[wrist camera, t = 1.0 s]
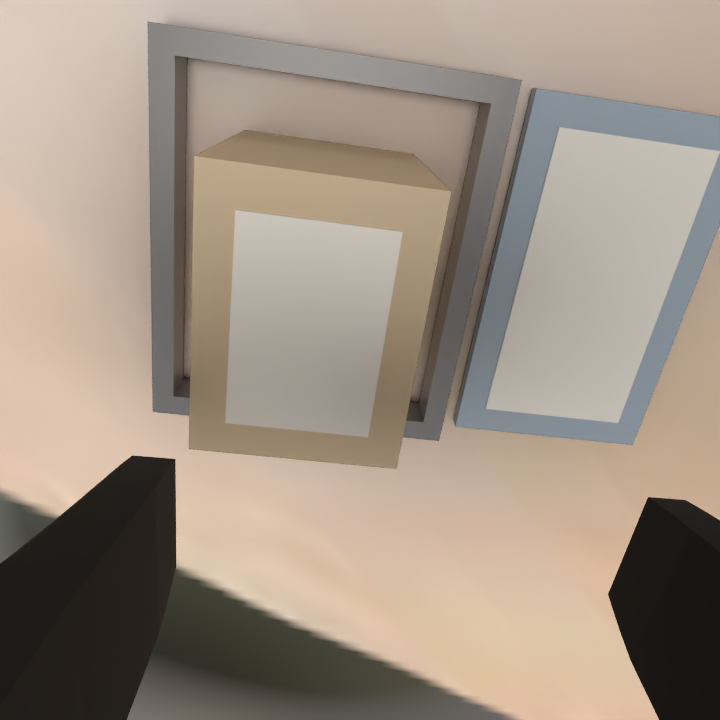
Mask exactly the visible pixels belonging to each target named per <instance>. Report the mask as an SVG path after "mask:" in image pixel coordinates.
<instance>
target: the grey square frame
mask: <svg viewBox="0 0 720 720" xmlns="http://www.w3.org/2000/svg"><path fill="white" fill-rule="evenodd" d="M187 58H194V59H201V60H207V61H214V62H220V63H227V64H233V65H240V66H247V67H253V68H260V69H266V70H273V71H279V72H286V73H293V74H299V75H306V76H312V77H319V78H325V79H332V80H339V81H345V82H352V83H358V84H365V85H371V86H378V87H385V88H391V89H398V90H404V91H411V92H417V93H424V94H431V95H437V96H444V97H450V98H457V99H463V100H470V101H477V102H481V103H480V108H479V113H478V117H477V122H476V127H475V132H474V137H473V142H472V147H471V152H470V156H469V161H468V166H467V171H466V176H465V181H464V186H463V190H462V195H461V200H460V205H459V210H458V215H457V220H456V224H455V229H454V234H453V239H452V244H451V249H450V254H449V259H448V263H447V268H446V273H445V278H444V283H443V288H442V293H441V297H440V302H439V307H438V312H437V317H436V322H435V327H434V331H433V336H432V341H431V346H430V351H429V356H428V361H427V366H426V370H425V375H424V380H423V385H422V390H421V395H420V400H419V403H414V402H410V403H409V408H408V413H407V418H406V423H405V428H404V433H403V437H405V438H415V439H425V440H435V441H439V439H440V434H441V430H442V425H443V421H444V417H445V412H446V408H447V404H448V399H449V395H450V391H451V386H452V382H453V377H454V373H455V369H456V364H457V360H458V356H459V351H460V347H461V343H462V338H463V334H464V329H465V325H466V321H467V316H468V312H469V308H470V303H471V299H472V295H473V290H474V286H475V282H476V277H477V273H478V268H479V264H480V260H481V255H482V251H483V247H484V242H485V238H486V234H487V229H488V225H489V220H490V216H491V212H492V207H493V203H494V199H495V194H496V190H497V186H498V181H499V177H500V172H501V168H502V164H503V159H504V155H505V151H506V146H507V142H508V138H509V133H510V129H511V125H512V120H513V116H514V111H515V107H516V103H517V98H518V94H519V90H520V85H521V81H522V80H518V79H511V78H505V77H499V76H492V75H486V74H479V73H473V72H467V71H460V70H454V69H447V68H441V67H435V66H428V65H422V64H415V63H409V62H403V61H396V60H390V59H383V58H377V57H371V56H364V55H358V54H351V53H345V52H339V51H332V50H326V49H319V48H313V47H307V46H300V45H294V44H287V43H281V42H275V41H268V40H262V39H256V38H249V37H243V36H236V35H230V34H224V33H217V32H211V31H204V30H198V29H192V28H185V27H179V26H172V25H166V24H160V23H153V22H148V78H149V156H150V234H151V312H152V389H153V412H160V413H169V414H179V415H189V416H190V379H189V378H183V356H184V273H185V189H186V106H187Z"/></svg>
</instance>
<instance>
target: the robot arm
mask: <svg viewBox="0 0 720 720" xmlns="http://www.w3.org/2000/svg"><path fill="white" fill-rule="evenodd" d="M175 569H176V490H175V459H167V458H155V457H143V456H131V457H130V458H129V459H127V460H126V461H125V462H123V463H122V464H121V465H120V466H119V467H117V468H116V469H115V470H114V471H113V472H111V473H110V474H109V475H108V476H107V477H106V478H104V479H103V480H102V481H101V482H100V483H98V484H97V485H96V486H95V487H94V488H93V489H91V490H90V491H89V492H88V493H87V494H86V495H84V496H83V497H82V498H81V499H80V500H78V501H77V502H76V503H75V504H74V505H73V506H71V507H70V508H69V509H68V510H67V511H65V512H64V513H63V514H62V515H61V516H59V517H58V518H57V519H56V520H54V521H53V522H52V523H51V524H50V525H48V526H47V527H46V528H44V530H42V531H41V532H40V533H38V534H37V535H36V536H35V537H33V538H32V539H31V540H30V541H28V542H27V543H26V544H25V545H23V546H22V547H21V548H20V549H18V550H17V551H16V552H15V553H14V554H12V555H11V556H10V557H8V558H7V559H6V560H4V561H3V562H2V563H0V720H127V717H128V714H129V712H130V709H131V707H132V704H133V701H134V699H135V696H136V694H137V691H138V688H139V685H140V683H141V680H142V678H143V675H144V672H145V670H146V667H147V664H148V662H149V659H150V656H151V654H152V651H153V648H154V645H155V643H156V640H157V637H158V635H159V631H160V627H161V624H162V620H163V616H164V612H165V609H166V605H167V601H168V597H169V593H170V589H171V585H172V581H173V576H174V573H175ZM608 595H609V598H610V602H611V605H612V608H613V611H614V614H615V617H616V620H617V623H618V626H619V629H620V632H621V635H622V638H623V640H624V643H625V646H626V649H627V651H628V654H629V657H630V660H631V662H632V664H633V666H634V668H635V670H636V672H637V675H638V677H639V679H640V681H641V683H642V685H643V687H644V689H645V691H646V693H647V695H648V697H649V699H650V702H651V704H652V706H653V708H654V710H655V712H656V714H657V716H658V718H659V720H720V521H719V520H718V519H716V518H715V517H713V516H712V515H710V514H708V513H707V512H705V511H703V510H702V509H700V508H698V507H696V506H695V505H693V504H691V503H689V502H688V501H686V500H676V499H663V498H651V497H648V499H647V501H646V504H645V506H644V509H643V511H642V513H641V516H640V518H639V521H638V523H637V526H636V528H635V530H634V533H633V535H632V538H631V540H630V543H629V545H628V547H627V550H626V552H625V555H624V557H623V560H622V562H621V564H620V567H619V569H618V572H617V574H616V577H615V579H614V581H613V584H612V586H611V589H610V591H609V594H608Z"/></svg>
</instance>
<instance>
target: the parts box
mask: <svg viewBox="0 0 720 720" xmlns="http://www.w3.org/2000/svg"><path fill="white" fill-rule="evenodd" d="M450 196H451V191H450V190H449V189H448V188H447V187H446V186H445V185H444V184H443V183H442V182H441V181H440V180H439V179H438V178H437V177H436V176H435V175H434V174H433V173H432V172H431V171H430V170H429V169H428V168H427V167H426V166H425V165H424V164H423V163H422V162H421V161H420V160H419V159H418V158H417V157H416V156H415V155H414V154H409V153H402V152H395V151H388V150H381V149H374V148H367V147H360V146H353V145H346V144H339V143H332V142H325V141H318V140H311V139H304V138H297V137H290V136H283V135H276V134H269V133H262V132H255V131H248V130H244V131H242V132H240V133H238V134H236V135H234V136H232V137H230V138H228V139H226V140H224V141H223V142H221V143H219V144H217V145H215V146H213V147H211V148H209V149H207V150H205V151H203V152H201V153H199V154H197V155H195V156H194V191H193V247H192V304H191V361H190V418H189V449H194V450H205V451H215V452H226V453H236V454H246V455H257V456H267V457H278V458H288V459H299V460H309V461H319V462H330V463H340V464H351V465H361V466H372V467H382V468H392V469H397V464H398V459H399V454H400V449H401V443H402V438H403V433H404V428H405V423H406V418H407V413H408V408H409V403H410V398H411V393H412V388H413V383H414V378H415V373H416V368H417V363H418V358H419V353H420V348H421V343H422V338H423V333H424V327H425V322H426V317H427V312H428V307H429V302H430V297H431V292H432V287H433V282H434V277H435V272H436V267H437V262H438V257H439V252H440V247H441V242H442V237H443V232H444V227H445V222H446V217H447V211H448V206H449V201H450Z"/></svg>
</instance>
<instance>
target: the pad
mask: <svg viewBox="0 0 720 720" xmlns="http://www.w3.org/2000/svg"><path fill="white" fill-rule="evenodd" d="M719 225H720V117H717V116H711V115H704V114H698V113H691V112H685V111H679V110H672V109H666V108H659V107H653V106H646V105H640V104H634V103H627V102H621V101H614V100H608V99H601V98H595V97H589V96H582V95H576V94H569V93H563V92H556V91H550V90H544V89H537V88H532V91H531V95H530V100H529V104H528V108H527V112H526V117H525V121H524V125H523V129H522V133H521V138H520V142H519V146H518V150H517V154H516V159H515V163H514V167H513V171H512V176H511V180H510V184H509V188H508V192H507V197H506V201H505V205H504V209H503V213H502V218H501V222H500V226H499V230H498V234H497V239H496V243H495V247H494V251H493V256H492V260H491V264H490V268H489V272H488V277H487V281H486V285H485V289H484V293H483V298H482V302H481V306H480V310H479V315H478V319H477V323H476V327H475V331H474V336H473V340H472V344H471V348H470V352H469V357H468V361H467V365H466V369H465V374H464V378H463V382H462V386H461V390H460V395H459V399H458V403H457V407H456V411H455V416H454V423H455V426H456V427H464V428H473V429H483V430H493V431H502V432H512V433H521V434H531V435H541V436H550V437H560V438H570V439H579V440H589V441H598V442H608V443H618V444H627V445H633V442H634V440H635V437H636V435H637V432H638V430H639V427H640V425H641V422H642V420H643V417H644V415H645V412H646V410H647V407H648V404H649V402H650V399H651V397H652V394H653V392H654V389H655V387H656V384H657V382H658V379H659V377H660V374H661V372H662V369H663V366H664V364H665V361H666V359H667V356H668V354H669V351H670V349H671V346H672V344H673V341H674V339H675V336H676V334H677V331H678V328H679V326H680V323H681V321H682V318H683V316H684V313H685V311H686V308H687V306H688V303H689V301H690V298H691V296H692V293H693V290H694V288H695V285H696V283H697V280H698V278H699V275H700V273H701V270H702V268H703V265H704V263H705V260H706V258H707V255H708V252H709V250H710V247H711V245H712V242H713V240H714V237H715V235H716V232H717V230H718V227H719Z"/></svg>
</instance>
